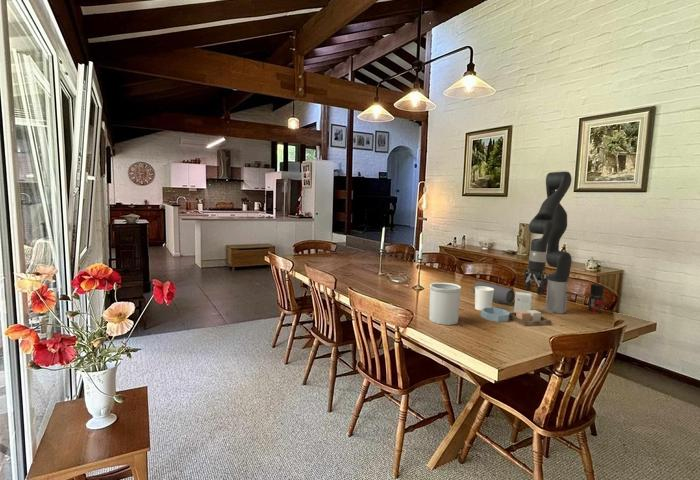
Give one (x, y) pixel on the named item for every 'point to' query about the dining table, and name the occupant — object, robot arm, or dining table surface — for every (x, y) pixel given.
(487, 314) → the ceramic bowl
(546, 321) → the walnut tray
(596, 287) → the deodorant
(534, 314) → the off-white cube
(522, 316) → the tan cube
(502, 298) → the bluetooth speaker
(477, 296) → the candle holder
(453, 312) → the utensil holder
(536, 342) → the dining table surface
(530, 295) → the small box
